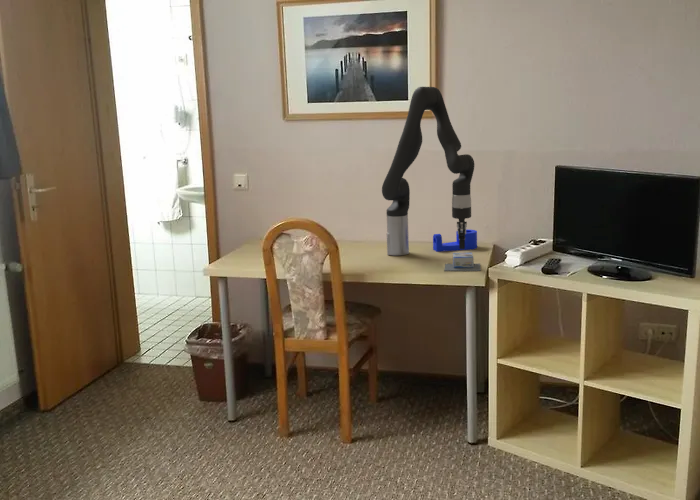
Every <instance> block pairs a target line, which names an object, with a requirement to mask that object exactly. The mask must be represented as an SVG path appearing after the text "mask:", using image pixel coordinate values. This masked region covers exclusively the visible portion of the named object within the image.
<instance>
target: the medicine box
mask: <svg viewBox="0 0 700 500" xmlns="http://www.w3.org/2000/svg"><path fill="white" fill-rule="evenodd" d="M474 260H475V259H474V255H473V252H453V253H452V264H453V266H454V268H474V264H475V263H474V262H475V261H474Z"/></svg>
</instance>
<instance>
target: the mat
mask: <svg viewBox="0 0 700 500" xmlns="http://www.w3.org/2000/svg"><path fill="white" fill-rule="evenodd" d="M481 268H482V267H481V263H474V268H454V266H453V263H445V264H444V268H443V271H444V272H481Z"/></svg>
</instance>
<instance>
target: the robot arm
mask: <svg viewBox="0 0 700 500" xmlns="http://www.w3.org/2000/svg"><path fill="white" fill-rule="evenodd" d="M426 111H431V113H433V115H434V118H435V120H436V136H437V138H438V141H439V144H440V145H441V147H442V149H443V151H444V157H445V161H446V166H447V169H448V170H449V171H450V172H451V173H453V174H456V175H457V174H459V176H458V177H457V178H455V179H454V180H453V181H452V184H451V187H452V189H451V190H452V197H451V217H452V218H453V219H457V220H458V221H456V228H457V230H456V231H457V232H458V235H459V237H458V239H459V248H460V249H465V234H466V230H467V227H468V223H467V221H465V220H466V219H469V218H470V219H471V217H472V196H471V183H472V179H473V175H474V171H475V161H474V158H473V157H472V155H470V154H467V153H465V154H458V152H459V151H460V150H461V148H462V143H461V141H460V139H459V137H458V135H457V133H456V131H455V129H454V127H453V125H452V123H451V119H450V117H449V113H448V109H447V106H446V103H445V100H444V97H443V95H442V93H441V91H440V90H439V88H437V87H435V86H418V87H417V88H416V89H414V91H413V92H412V95H411V98H410V104H409V108H408V113H407V116H406V120H405V122H404V127H403V131H402V132H401V135H400V139H399V141H398V145H397V147H396V149H395V150H396V151H395V153H394V156H393V160H392V162H391V165H390V167H389V169H388V172H387V174H386V177H385V178H384V181H383V183H382V187H381V194H382V197H383V199H385V200H386V201H392V203H391V205H390V206H389V207H387V209H386V229H387V230H386V232H387V233H386V250H387V251H386V253H387V254H386V255H388V256H389V255H390V256H405V255H408V254H410V247H409V246H410V245H409V243H410V242H409V216H408V214H409V210H410V197H411V196H410V193H411V192H410V185H409V182H408V180H407V179H406V178H404V177H403V176H404V174H405V173H406V171H407V170H408V169H409V168H410V167H411V166H412V164H413V162H414V161H415V160H416V159H417V157H418V155H419V153H420V150H421V147H422V144H423V134H422V128H421V122H422V118H423V115H424V113H425V112H426Z"/></svg>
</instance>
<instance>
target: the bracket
mask: <svg viewBox="0 0 700 500" xmlns="http://www.w3.org/2000/svg"><path fill="white" fill-rule="evenodd" d="M455 233H456V240H455V241H452V242H451V241H450V242H443V237H442V234H441V233H434V234H433V235H432V249H433V251H434V252H437V253H438V252H449V251H450V252H453V251H454V252H455V251H464V250H465V251H469V250H470V249H471V250H475V249H478V231H477V230H475V229H466V234H465V249H460V248H459V239H458V237H459V235H458V232H457V230H456V231H455Z"/></svg>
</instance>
